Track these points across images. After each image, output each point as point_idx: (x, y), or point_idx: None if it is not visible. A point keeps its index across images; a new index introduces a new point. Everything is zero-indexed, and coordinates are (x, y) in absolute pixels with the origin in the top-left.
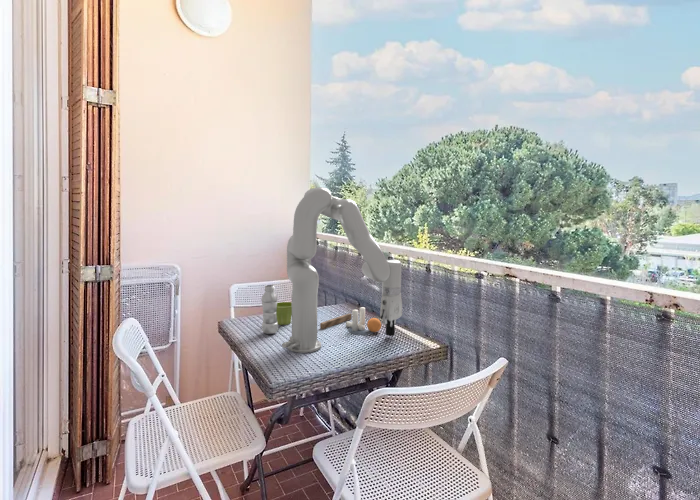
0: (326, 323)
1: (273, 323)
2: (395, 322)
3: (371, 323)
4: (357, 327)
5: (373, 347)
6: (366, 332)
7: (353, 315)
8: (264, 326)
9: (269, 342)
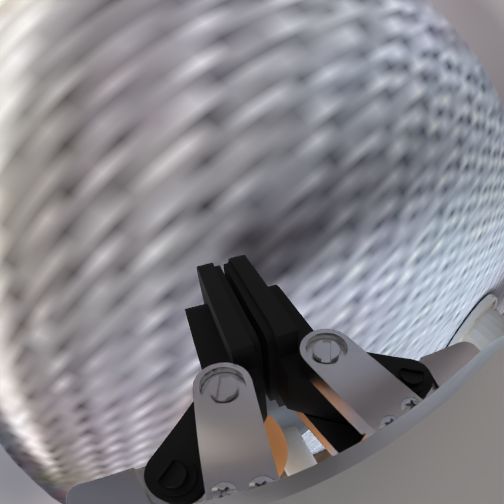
0: None
1: None
2: (205, 413)
3: (287, 453)
4: (288, 444)
5: (440, 202)
6: (268, 409)
7: None
8: None
9: None
